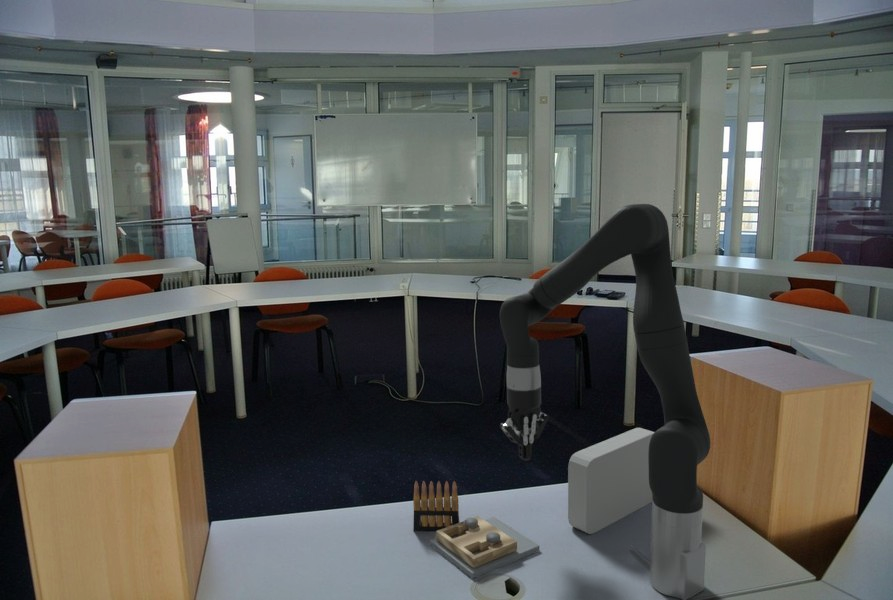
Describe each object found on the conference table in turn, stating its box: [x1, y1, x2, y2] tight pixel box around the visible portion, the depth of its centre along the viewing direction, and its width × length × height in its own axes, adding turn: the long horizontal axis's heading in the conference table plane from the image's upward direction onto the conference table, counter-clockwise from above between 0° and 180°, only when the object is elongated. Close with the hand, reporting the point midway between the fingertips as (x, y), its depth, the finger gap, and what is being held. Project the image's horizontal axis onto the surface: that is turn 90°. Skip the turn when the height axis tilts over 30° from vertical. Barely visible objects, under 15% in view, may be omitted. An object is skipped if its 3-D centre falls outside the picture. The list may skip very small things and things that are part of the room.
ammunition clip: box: [412, 480, 460, 533], centre depth 154 cm, size 11×2×12 cm, turn 86°
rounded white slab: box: [567, 427, 656, 535], centre depth 160 cm, size 29×8×18 cm, turn 129°
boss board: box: [429, 516, 540, 579], centre depth 146 cm, size 16×18×5 cm
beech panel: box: [435, 515, 517, 568], centre depth 144 cm, size 14×12×2 cm
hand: (525, 458), depth 150 cm, fingers closed
